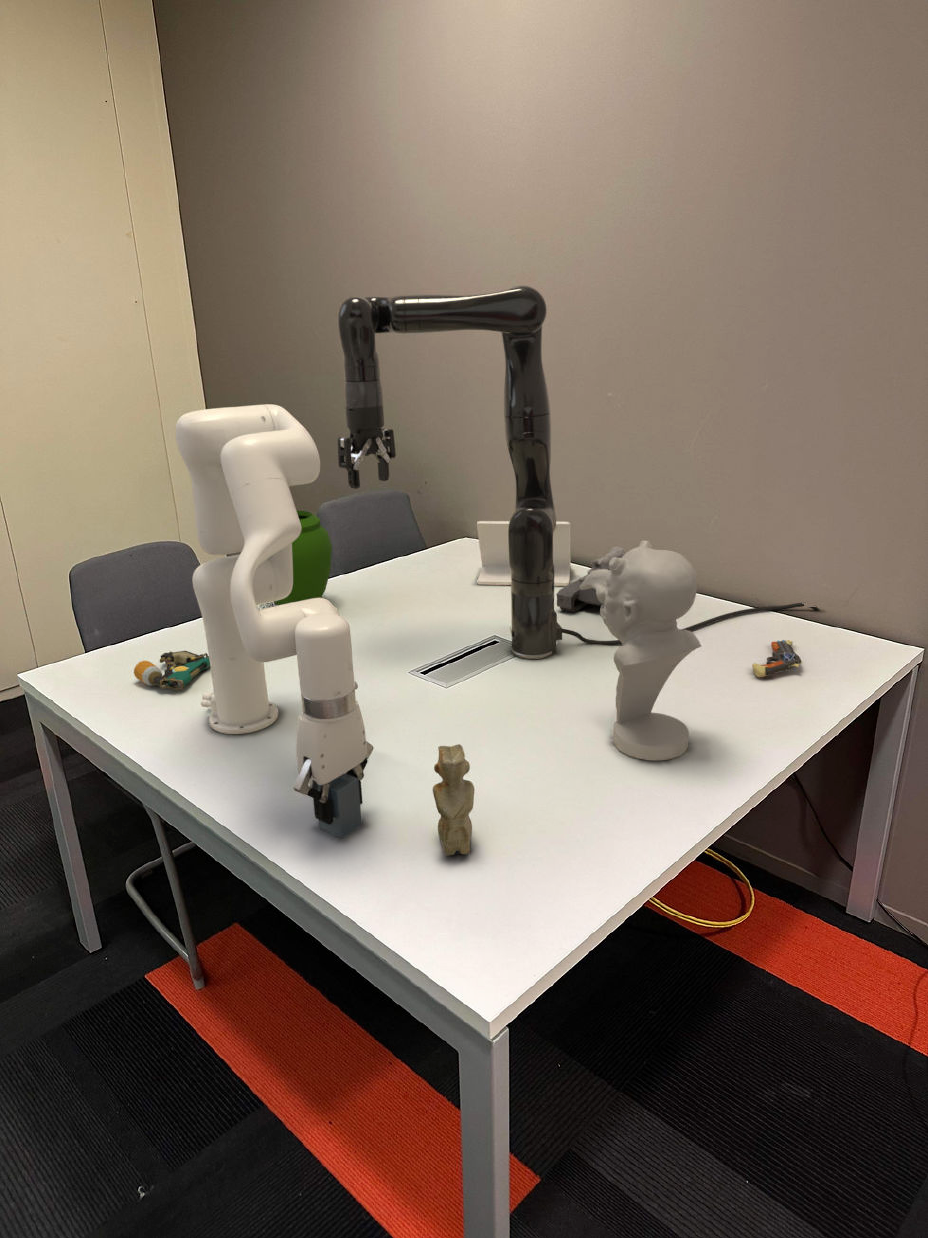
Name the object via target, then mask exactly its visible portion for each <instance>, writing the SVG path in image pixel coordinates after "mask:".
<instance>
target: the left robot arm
mask: <svg viewBox="0 0 928 1238" xmlns="http://www.w3.org/2000/svg"><path fill="white" fill-rule="evenodd" d="M174 430H175V433H174V434H175V442H176V445H177V449H178V451H179V455H180V457H181V459H182V461H183V463H184V464H185V466H186V469H187V471H188V474H189V477H190V479H191V484H192V485H191V487H192V499H193V508H194V517H195V518H194V519H195V524H196V525H195V527H196V535H197V539H198V542H199V543H198V544H199V546H200V547H201V549H202V551H204V552H205V553H207V554H209V555H213V556H223V557H218V558H214V559H210V560H207V561H204V562H203V563H201V564H200V565H198V566H197V568H196V569H195V570H194V572H193V573H192V578H191V579H192V587H193V592H194V595H195V598H196V600H197V604H198V607H199V611H200V615H201V618H202V622H203V627H204V633H205V638H206V646H207V652H208V653H207V654H208V656H209V660H210V666H209V667H210V673H211V681H212V686H213V692H212V691H204V692H203V694H202V699H201V701H200V706H201V707H203V708H210V709H211V714H210V716H209V719H208V720H209V725H210V727H211V728H212V729H213V730H214V731H216V732H218V733H221V734H225V735H244V734H249V733H254V732H257V731H260V730H263V729H265V728H267V727H269V726H271V725H273V723H275V721H276V720H277V719H278V717H279V709H278V707H277V705H276V704H275V703H273V702H271V701H269V695H268V686H267V679H266V671H265V663H269V662H274V661H279V660H282V659H287V658H289V657H294V656H296V662H297V671H298V678H299V680H298V681H299V689H300V697H301V707H302V708H301V709H302V713H301V714H300V715H298V719H297V727H296V766H297V773H298V776H297V778H296V781H295V783H294V784H293V791H295V792H296V793H299V794H301V795H304V796H307V797H309V798H311V799H312V801H313V812H314V818H315V819H316V820H317V821H318V820H320V821H322V822H324V823H326V824H328V825H330V824H332V823H333V813H332V803H331V800H330V799H328V792H329V786H330V781H332V780H334V779H335V778H337V777H339V776H341V775H342V774H344V773H346V774H348V775H351V776H353V777H356V778H358V782H359V794H360V806H361V805H363V802H364V801H363V792H362V780H363V779H364V777H365V773H364V771H365V769H366V767H367V765H368V761H369V760H368V759H370V756H371V755H372V753H373V751H374V746H373V744H371V743H370V742H368V741H367V736H366V729H365V724H364V719H363V715H362V711H361V708H360V704H359V702H358V701H357V698H356V697H357V696H356V690H357V689H358V687H359V685H358V683H357V681H355V672H354V671H355V670H354V660H353V659H354V658H353V648H352V647H353V646H352V636H351V627H350V624H349V622H348V620H347V618H345V617H343V616H341V615H340V612H339V611H338V608H337V607H336V606H335V605H334V604H333V603H332V602H331V601H330V600H329V599H327V598H324V597H322V598H313V599H307V600H303V601H298V602H292V603H287V604H283V605H278V606H277V605H275V606H269V607H265V608H260V609H259V608H258V606H259V605H260V606H261V605H264V604H268V603H274V601H278V600H281V599H284V598H286V597H287V596H288V595H289V594H290V593H291V591H292V587H293V560H292V542H293V541H295V540H296V539H297V538H298V536H299V535H300V533H301V523H300V520H299V517H298V514H297V511H298V510H297V508H296V505H295V502H294V499H293V495H292V493H291V489H290V487H295V486H302V485H308V484H311V483H313V482H315V481H316V480H317V479H318V478H319V476H320V472H321V458H320V453H319V451H318V448H317V444H316V443H315V441H314V438H313V437H312V435H311V434H310V433H309V431H308V430H307V429H306V428H305V427H304V425H302V424H301V423H300V422H299V420H298V419H296V418H295V417H294V416H293V414H291V413H290V412H289V411H287V410H286V409H285V408H284V407H282V406H281V405H277V404H271V403H270V404H269V403H267V404H265V403H264V404H252V405H243V406H228V407H226V406H225V407H216V408H215V407H214V408H205V409H199V410H194V411H189V412H187V413H184V414H182V415H180V417H179V418H178V420H177V422H176V425H175V429H174ZM318 785H321V789H320V791H318Z"/></svg>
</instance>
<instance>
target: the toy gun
mask: <svg viewBox="0 0 928 1238" xmlns="http://www.w3.org/2000/svg"><path fill="white" fill-rule="evenodd" d="M793 643H794V642H793V641H792V640H790V639H788V640H787V639H785V640H784V639H782V640H781V641H780V640H776V641H772V642H771V643H770V644H771V649H772V652H771V656H768V657H766V664H759V663H756V662H754V663H752V665H751V666H752V671H753V673H754V675H755V676H756V677H757V678H764V677H767V676H772V675H774V674H778V673H780V672H785V671H787V670H790V669H792V668H795V667H796V668H799V666H800V665H801V664H803V663H804V662H803V661H802V659H801V657H800V656H799V655H798V654H797V653H796V652H795V650H794V648H793V646H794V645H793Z"/></svg>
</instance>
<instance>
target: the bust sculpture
mask: <svg viewBox="0 0 928 1238" xmlns="http://www.w3.org/2000/svg"><path fill="white" fill-rule="evenodd" d="M609 569H610V570H606V569H600V570H595V571H593V572H591V573H590V574H589V575H588V576H587V577H586V579H585V580H584V581H583V583H582V584H581V585H580V587H579V588H580V590H585V589H590V588H594V589H596V595H597V598H598V600H599V601H600V602H601V603H603V605H602V606H600V610H599V614H600V617H601V618H602V620H603V623H604V625H605V626H606V627H607V629H608V631H609V632H610V634H611V635H612V636H614V637H615V638H616V640H619V641H620V642H622V644H621V646H620V647H619V648H617V649H616V651H615V652H614V654H613V662H614V666H615V668H616V670H617V671H618V673H619V674H618V678H617V682H616V688H615V693H616V694H615V710H616V721H615V722H614V724H613V732H612V733H613V734H612V741H613V742H612V743H613V745H614V746H615V748H617V750H619V751H620V752H622V753H623V754H625V755H627V756H630V757H631V758H634V759H635V758H636V759H639V760H646V761H666V760H671V759H675V758H678V757H680V756H682V755H683V754H684V753H686V751H687V749H688V747H689V735H690V733H689V732H690V731H689V728H688V726H687V725H686V724H685V723H684V722H683V721H681V720H680V719H678V718H676V717H673V716H671V715H667V714H664V713H660V712H652V711H653V708H654V706H655V703H656V701H657V699H658V697H659V694H660V693H661V691H662V689H663V688H664V686H665V684H666V682H667V681H668V679H669V678H670V676H671V675H672V673H673V672H674V671H675V669H676V668H677V666H678V665H679V664H680V663H681V662H682V661H683V660H684V659H685V658H686V657H687V656H688V655H690V654H691V653H692V652H694V651H695V650H697V649H699V648H702V644H701V642H700V641H699V640H700V639H698V637H697V636H696V634H695V633H694V632H693V631H692V630H691V631H688V630H683V629H684V628H682V629H680V628H678V621H677V620H679V619H680V618H682V617H683V616H685V615H686V614H687V613H688V612H689V611H690V610H691V608H692V607H693V605H694V603H695V600H696V597H697V592H698V576H697V573H696V571H695V568H694V567H693V565H692V564H691V562H690V561H689V560H688V559H686V558H685V556H684V555H683V554H681V553H678V552H676V551H672V550H666V549H655V548H653V546H652V543H651V542H650V541H649V540H640V543H639V546H637V547H633V548H632V549H630V550H629V551H627V552H625V555H624V556H623V557H622V558H617V557H614V558H612V559H611V560H610V562H609Z"/></svg>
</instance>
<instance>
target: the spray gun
mask: <svg viewBox="0 0 928 1238" xmlns="http://www.w3.org/2000/svg"><path fill="white" fill-rule="evenodd" d="M158 662H159V663H161V664H163V663H165V664H166V668H165V670H163V672H164V674H163V673H162V669H160V668H159V666H157V665H156V664H154V663H152V662H151V661H149V660H141V661H139V662H138V663H136V665H135V666H134V668H133V675H134V677H135V678H136V679H137V680H139V681H140V682H142V683H143V684H145V685H147V686H155V685H157V686H158V687H160V688H161V689H171V690H172V689H173V690H182V689H184V687H185V686H186V685H188V684H189V683H190V682H191V681H192V679H193V678H195V677H196V676H197V675H198V674H200V673H201V672H202V671H203V670H206V669H208V668H209V667H210V660H209V653H207V652H205V653H201V654H197V653H194V652H192V651H191V652H190V651H188V650H180V651H169V652H164V653H162V654H161V655H160V658H159V660H158ZM178 663H179V664H181V665H179V666H176V665H177V664H178Z"/></svg>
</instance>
